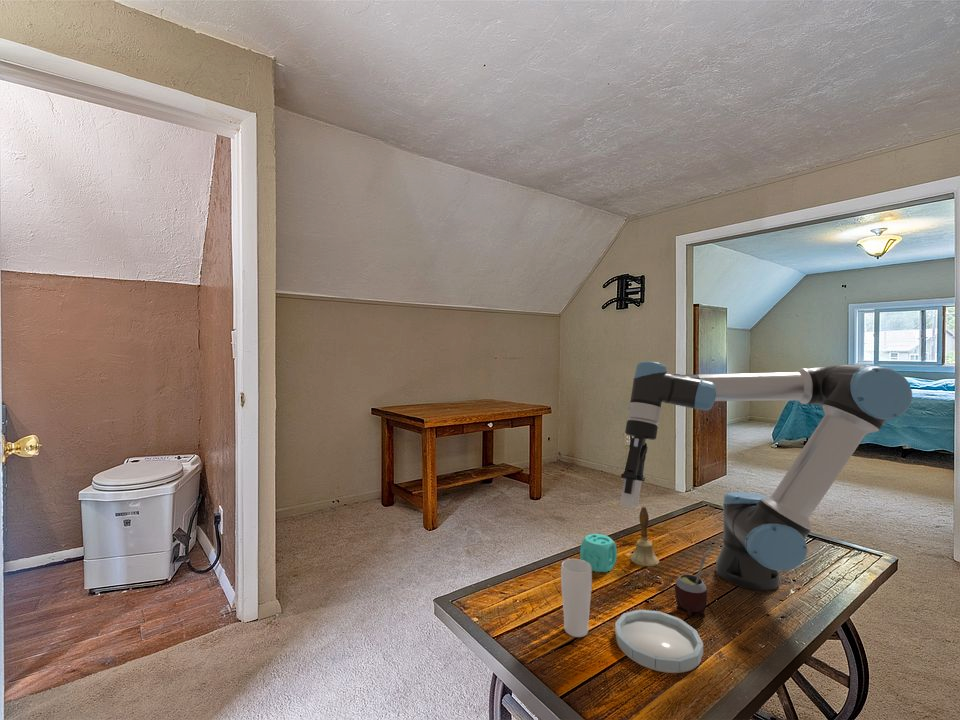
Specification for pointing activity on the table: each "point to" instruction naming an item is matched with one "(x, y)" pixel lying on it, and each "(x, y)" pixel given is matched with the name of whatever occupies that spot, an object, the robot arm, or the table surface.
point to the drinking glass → (576, 595)
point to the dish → (659, 641)
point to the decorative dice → (599, 552)
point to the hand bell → (644, 545)
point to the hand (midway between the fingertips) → (629, 506)
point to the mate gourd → (692, 593)
